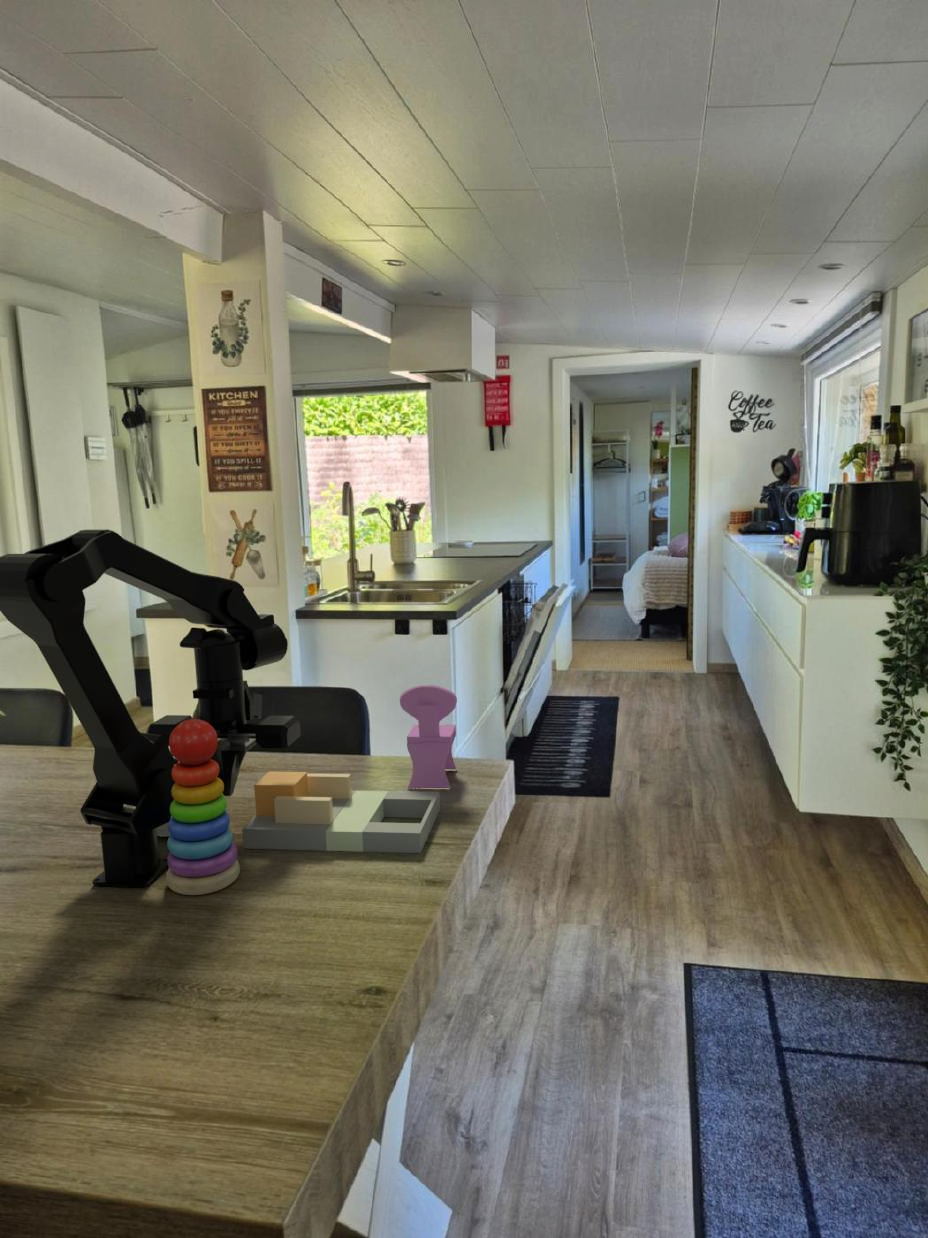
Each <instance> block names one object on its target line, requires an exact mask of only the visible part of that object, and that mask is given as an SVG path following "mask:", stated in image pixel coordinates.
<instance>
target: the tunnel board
mask: <svg viewBox="0 0 928 1238" xmlns="http://www.w3.org/2000/svg"><path fill="white" fill-rule="evenodd" d="M307 780H308V797H289V796H277V797H276V798H275V799H274V807H275V816H267V815H256V814H255V815H254V816H253V817H252V818H251V819H250V820H249V821H248V822H247V823H246V824H245V825H244V826H243V827H242V828H241V830H242V831H241V832H242V833H241V835H242V844H243V845H242V846H243V849H249V850H250V849H252V850H253V849H254V850H255V849H256V850H285V851H286V850H287V851H288V850H292V851H293V850H294V851H295V850H296V851H298V850H299V851H323V852H325V851H327V852H363V853H365V852H366V853H367V852H369V853H395V854H397V853H399V854H401V853H403V854H404V853H405V854H421V853H422V851H423V849H424V847H425V845H426V843H425V842H427V840H428V838H429V836H428V835H430V834H429V833H431V831H432V828H433V827H432V826H434V824H435V822H436V820H435V819H437V818H436V817H438V815H439V813H440V811H441V801H440V800H441V799H440V791H422V790H406V791H405V790H387V791H386V790H385V791H383V790H356V789H355V790H354V789H352V788H353V787H352V773H308V772H307ZM439 810H440V811H439ZM438 812H439V813H438ZM437 814H438V815H437ZM384 818H409V819H410V818H411V819H413V818H415V819H417V818H419V819H421V821H420V822H382V821H383V820H384ZM434 821H435V822H434Z"/></svg>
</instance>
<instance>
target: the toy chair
mask: <svg viewBox="0 0 928 1238" xmlns="http://www.w3.org/2000/svg"><path fill="white" fill-rule="evenodd" d="M457 699H458V698H457V695H456V693H454V692H453V691H451V690H449V689H448V688H446V687H441V686H439V685H435V684H434V685H432V684H431V685H430V684H427V685H425V684H422V685H415V686H412V687H411V688H408V689H406V690H404V691H403V692H402V693H401V695H400V697H399V704H400V707H401V708H402V711H404V712H405V713H407V714H408V715H409V716H411V717H412V718H414V719H415V720H417V721H418V724H413V726H412V728H411V730H410V732H409V733H408V734H407V736H406V743H407V744H406V747H407V751H408V755H409V757H410V759H411V763H412V774H411V778H410V782H409V784H408V786H407V790H408V789H409V788H410V789H413V788H414V789H416V788H418V789H420V788H450V787H451V784H450V783H449V780H448V777H447V772H445V769H456V768H457V766H456V764H455V761H454V757H453V750H452V749H453V744H454V741H455V738H456V735H457V727H456V726H457V724H441V725H440V722H441V721H442V720H443V719H445V718H446V717H448V716H449V715H450V714H451V713H452V712H454V710H455V709H456V707H457V703H458V700H457Z"/></svg>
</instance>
